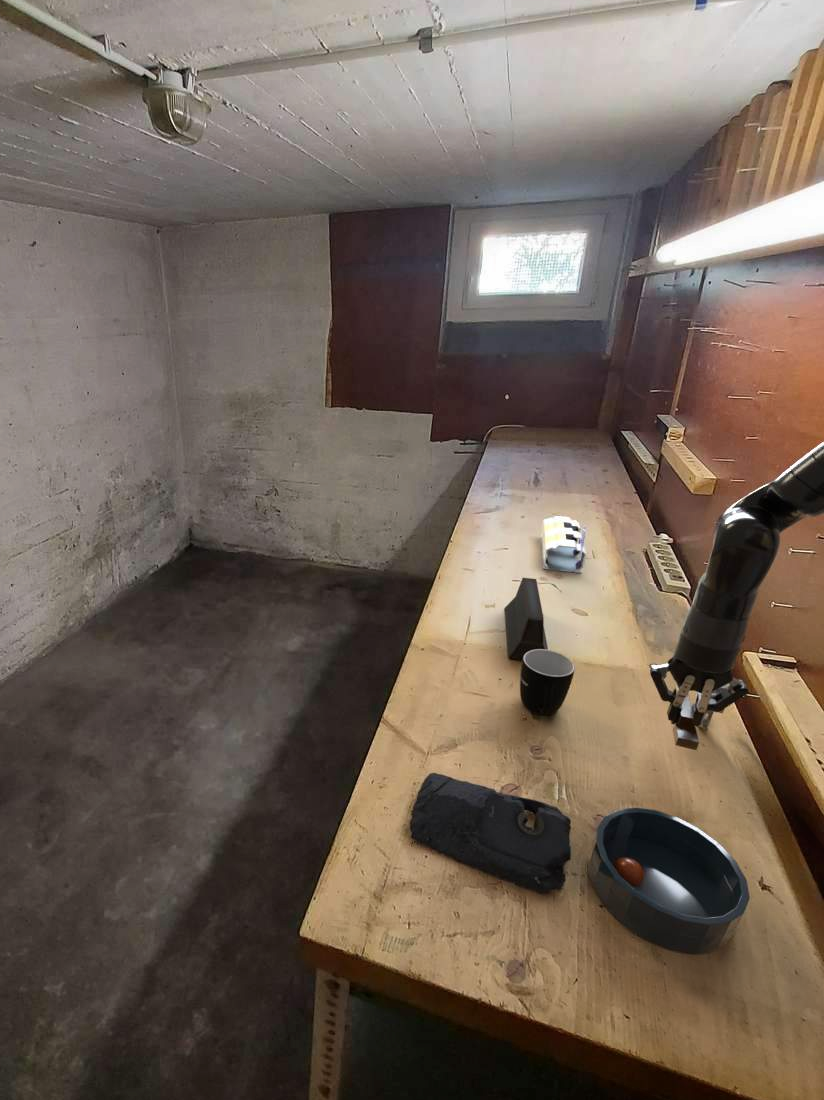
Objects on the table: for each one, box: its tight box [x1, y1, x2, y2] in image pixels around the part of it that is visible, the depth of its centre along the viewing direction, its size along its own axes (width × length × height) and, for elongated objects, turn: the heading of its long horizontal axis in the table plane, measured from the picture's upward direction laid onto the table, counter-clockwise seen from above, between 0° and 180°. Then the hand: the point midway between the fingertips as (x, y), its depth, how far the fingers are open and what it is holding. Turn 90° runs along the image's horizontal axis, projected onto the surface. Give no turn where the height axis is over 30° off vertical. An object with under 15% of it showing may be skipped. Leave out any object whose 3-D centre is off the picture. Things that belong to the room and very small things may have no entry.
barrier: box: [503, 577, 549, 661], centre depth 130 cm, size 24×9×10 cm, turn 162°
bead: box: [613, 857, 644, 888], centre depth 75 cm, size 4×4×4 cm
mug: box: [519, 649, 576, 716], centre depth 106 cm, size 12×9×10 cm
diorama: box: [540, 515, 587, 574], centre depth 169 cm, size 25×10×13 cm, turn 159°
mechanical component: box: [697, 684, 727, 730], centre depth 101 cm, size 3×10×10 cm, turn 145°
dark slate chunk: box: [409, 772, 572, 894], centre depth 84 cm, size 15×22×5 cm
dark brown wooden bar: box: [672, 694, 700, 751], centre depth 93 cm, size 12×3×3 cm, turn 153°
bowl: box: [587, 807, 751, 955], centre depth 74 cm, size 17×17×6 cm
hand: (681, 723), depth 93 cm, fingers closed on dark brown wooden bar, 2 cm apart
